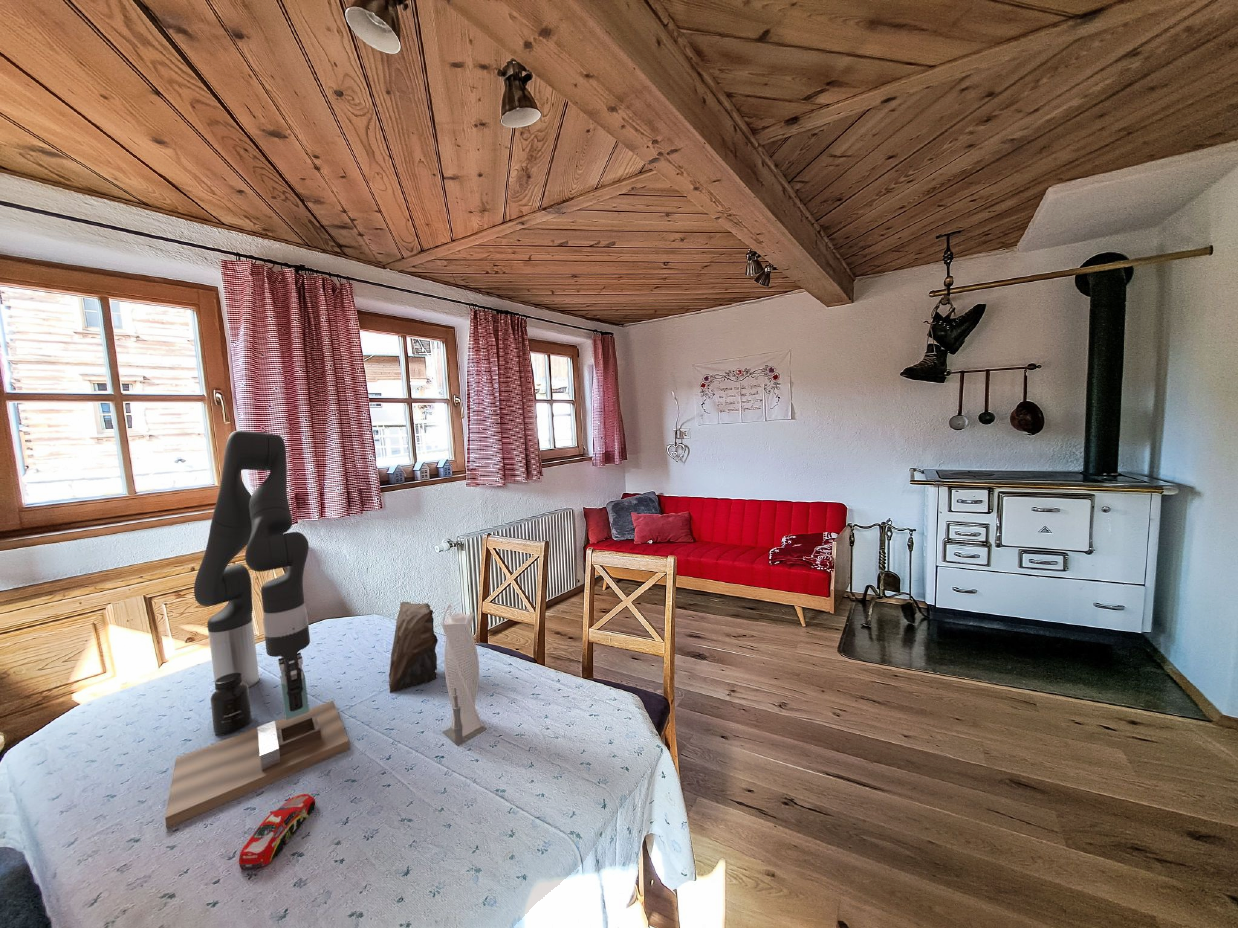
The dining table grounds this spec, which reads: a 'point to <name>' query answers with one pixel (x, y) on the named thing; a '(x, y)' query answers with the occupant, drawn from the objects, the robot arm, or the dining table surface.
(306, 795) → the race car
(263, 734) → the bar
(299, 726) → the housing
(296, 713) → the peg
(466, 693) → the skyscraper
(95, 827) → the dining table surface
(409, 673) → the brown rock
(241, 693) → the supplement bottle
